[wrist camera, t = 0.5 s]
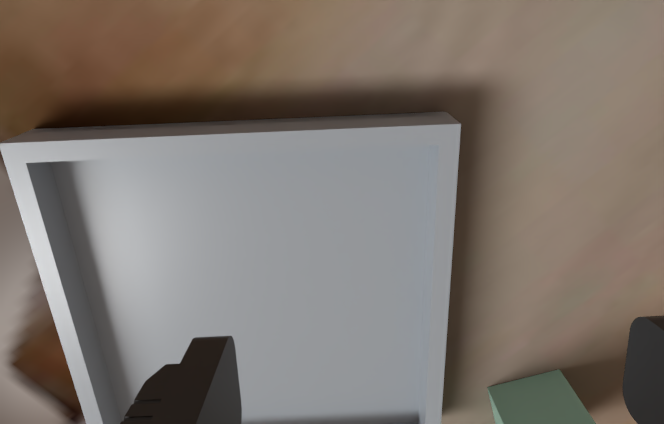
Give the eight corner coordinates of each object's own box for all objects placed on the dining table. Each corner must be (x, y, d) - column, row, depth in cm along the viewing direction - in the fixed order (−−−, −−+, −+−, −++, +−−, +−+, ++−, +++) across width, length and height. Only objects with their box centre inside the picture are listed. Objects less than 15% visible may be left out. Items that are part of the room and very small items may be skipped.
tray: (33, 129, 26) (-2, 143, 23) (445, 111, 26) (461, 123, 23) (119, 435, 34) (102, 473, 31) (429, 420, 34) (438, 456, 32)
